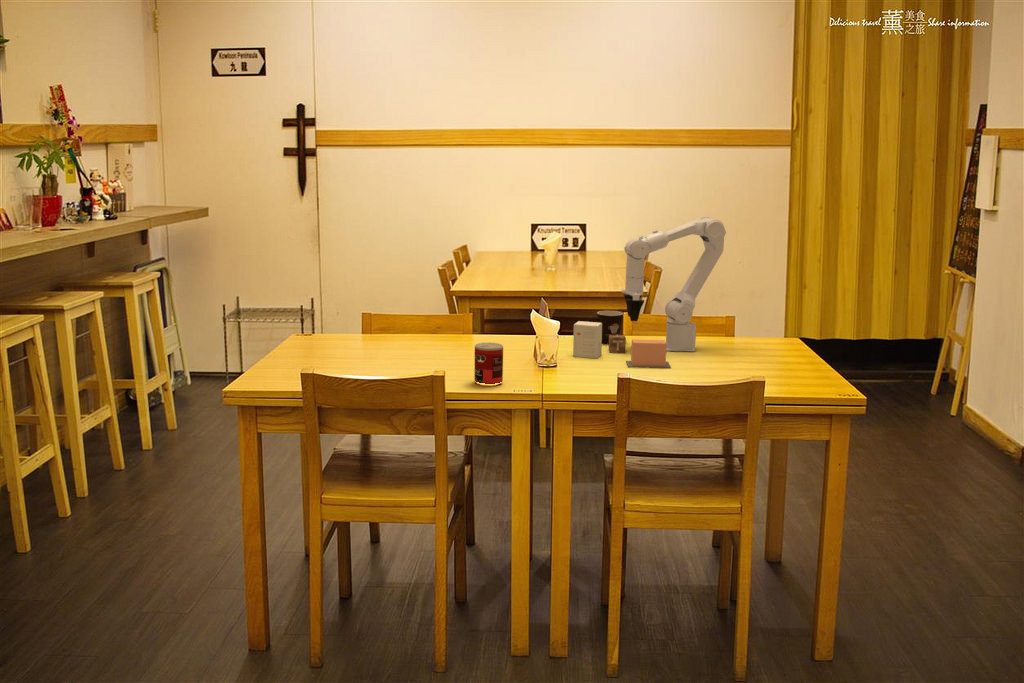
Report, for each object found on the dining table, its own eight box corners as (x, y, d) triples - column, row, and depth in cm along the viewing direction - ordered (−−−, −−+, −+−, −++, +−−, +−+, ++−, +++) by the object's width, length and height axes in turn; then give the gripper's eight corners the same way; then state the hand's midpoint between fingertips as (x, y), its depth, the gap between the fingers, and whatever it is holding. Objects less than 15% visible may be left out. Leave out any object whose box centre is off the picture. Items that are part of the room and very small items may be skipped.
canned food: (473, 379, 297) (474, 342, 294) (501, 379, 297) (502, 342, 295) (475, 386, 289) (475, 348, 287) (503, 386, 290) (504, 348, 287)
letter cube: (623, 350, 337) (624, 334, 336) (625, 353, 332) (625, 337, 331) (608, 349, 337) (609, 334, 336) (609, 353, 332) (610, 337, 331)
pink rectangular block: (663, 362, 320) (664, 339, 318) (665, 366, 315) (666, 343, 313) (630, 361, 320) (631, 339, 318) (632, 365, 315) (633, 342, 313)
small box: (601, 355, 329) (602, 322, 327) (597, 358, 324) (598, 325, 322) (577, 352, 332) (578, 320, 330) (572, 356, 327) (573, 323, 324)
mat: (667, 362, 321) (667, 361, 320) (671, 368, 314) (671, 366, 314) (625, 361, 321) (625, 360, 321) (628, 367, 314) (628, 366, 314)
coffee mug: (621, 340, 351) (623, 311, 349) (622, 345, 343) (623, 316, 341) (587, 338, 352) (588, 310, 350) (586, 344, 344) (587, 314, 342)
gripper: (620, 273, 339) (618, 314, 342) (624, 280, 324) (622, 322, 327) (641, 273, 339) (639, 314, 341) (646, 280, 324) (644, 323, 327)
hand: (632, 318), depth 334 cm, fingers open, 7 cm apart
